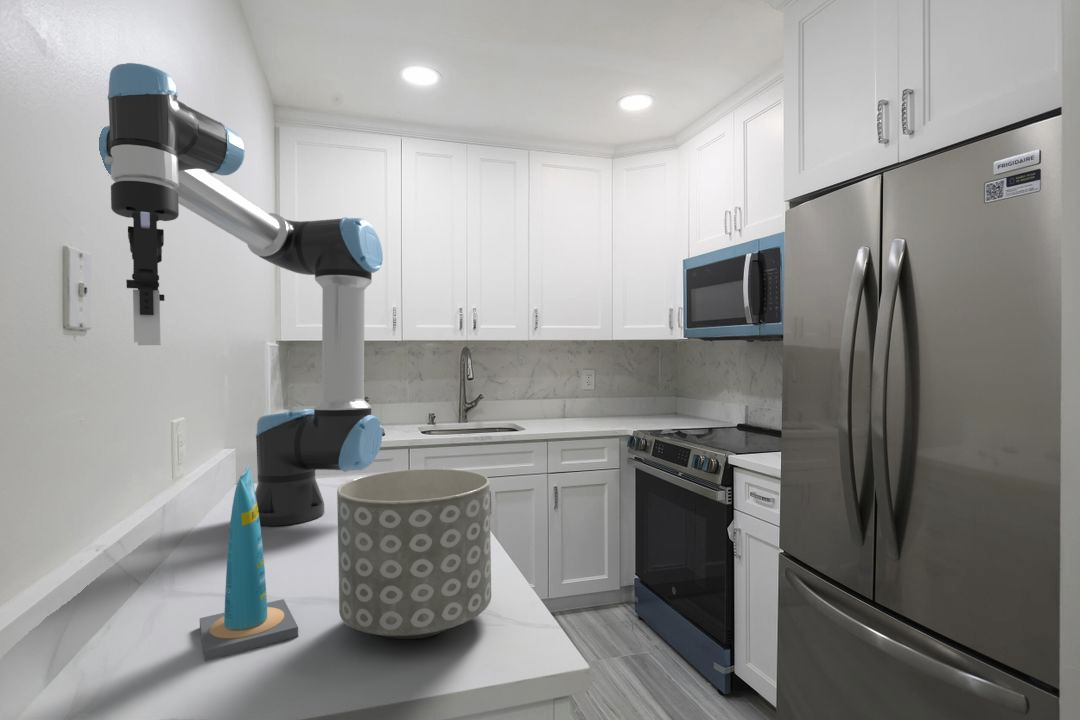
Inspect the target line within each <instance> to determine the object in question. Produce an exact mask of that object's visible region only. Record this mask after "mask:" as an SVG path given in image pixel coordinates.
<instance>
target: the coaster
mask: <svg viewBox="0 0 1080 720" xmlns="http://www.w3.org/2000/svg"><path fill="white" fill-rule="evenodd" d="M224 613H225V612H221V613H217V614H211V615H207V616H203V617H200V618H199V630H200V639H201V645H202V651H203V659H204V662H206V661H210V660H213V659H214V658H215V659H218V658H221V657H226V656H230V655H233V654H236V653H237V654H238V653H240V652H244V651H248V650H252V649H256V648H260V647H263V646H267V645H270V644H275V643H278V642H282V641H286V640H290V639H293V638H297V637H299V626H298V624H297V622H296V620H295V618H294V616H293V614H292V613H291V611H290V608H289V607H288V604H287V602H286V600H285V599H284V598H283V599H278V600H274V601H273V600H272V601H270V602H267V614H268V615H267V619H266V620H265V621H264V622H262V623H261V624H259V625H257V626H254V627H251V628H247V629H242V630H235V629H227V628H226V627H225V626H224Z"/></svg>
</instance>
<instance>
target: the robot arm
mask: <svg viewBox="0 0 1080 720" xmlns="http://www.w3.org/2000/svg"><path fill="white" fill-rule="evenodd" d="M178 96H179V93H178V91H177V84H176V82H175V81H174V79H173V78H172V77H171V75H170V74H168V73H167V72H164V71H163V70H161V69H159V68H157V67H153V66H150V65H147V64H143V63H133V62H126V63H119V64H117V65H115V66H113V67H112V68H111V70H110V73H109V79H108V95H107V100H108V115H109V117H108V118H109V122H108V123H109V125H107V126H106V125H105V126H103V127H104V128H103V129H102V131H101V134H100V137H99V151H100V155H101V157H102V160H103V163H104V166H105V168H106V170H107V171H108V173H109V174H110V175H111V176H110V177H111V179H112V181H114V182H113V183H112V184H111V185H110V200H111V201H110V208H111V210H112V212H113V213H115V214H116V215H118V216H122V217H125V218H127V219H128V218H129V219H130V218H132V221H133V226H132V225H131V226H127V239H128V242H129V243H128V244H129V251H130V253H131V257H132V258H131V259H132V260H133V263H132V264H133V271H132V272H133V273H132V274H131V279H126V283H125V284H126V289H132V302H133V303H132V305H133V306H132V307H133V343H137V346H161V308H160V307H161V303H160V302H163V301H164V302H165V294H160V290H159V288H160V282H159V280H160V276H159V274H158V272H159V269H158V267H159V266H158V265H159V263H161V262H162V259H163V258H162V256H163V255H162V254H163V247H164V244H165V243H164V242H165V240H164V238H165V235H164V234H165V233H164V231H165V230H164V229H162V228H161V229H160V228H158V222H160V221H162V222H169V221H173V220H174V221H175V220H176V219H178V218H179V214H180V213H179V212H180V211H179V209H180V208H179V206H180V205H181V206H182V207H183V208H185V209H187V210H189V211H191V212H192V213H194V214H195V215H198V216H199V217H200V218H203V219H204V220H205V221H208V222H209V223H211V224H213V225H214V226H216V227H218V229H221V230H223V231H225V232H226V233H228V234H230V235H231V236H233V237H235V238H236V239H239V240H240V241H242V242H243V243H245V244H246V246H247V247H248V249H249V251H250V252H251V253H253V254H254V255H255V256H257V257H259V258H261V259H263V260H264V261H266V262H269V263H270V264H273V265H275V266H277V267H280V268H282V269H285V270H287V271H290V272H293V273H297V274H300V275H307V276H314V280H315V282H316V283H317V284H318V285H319V287H321V289H322V308H321V309H322V313H321V315H322V318H321V319H322V321H321V322H322V324H321V325H322V327H321V328H322V329H321V331H322V332H321V333H322V337H321V339H322V342H321V345H322V347H321V348H322V349H321V353H322V354H321V355H322V356H321V357H322V358H321V370H322V371H321V400H320V401H319V402H318V404H316V405H315V406H314V409H313V408H307V409H300V410H299V409H298V410H292V411H291V410H290V411H287V412H286V411H285V412H284V411H283V412H278V413H272V414H265V415H262V416H260V417H259V418H258V420H257V422H256V434H255V438H256V466H257V468H256V470H257V471H256V472H257V483H256V484H257V485H256V489H255V495H256V500H257V506H258V512H259V520H260V526H267V527H270V526H271V527H272V526H275V527H276V526H286V525H295V524H300V523H301V524H302V523H305V522H309V521H313V520H315V519H318V518H319V517H321V516H323V515H324V514H325V501H324V498H323V495H322V492H321V490H320V488H319V487H320V486H319V485H318V482H317V479H316V471H342V472H344V473H345V472H351V471H362V470H365V469H367V468H369V467H370V466H371V465H372V464H373V463H374V461H375V460H376V458H377V456H378V454H379V452H380V449H381V445H382V440H383V426H382V425H381V421H380V419H379V418H378V417H377V416H375V415H372V406H371V405H370V404H369V403H368V402H367V401H366V399H365V291H366V289H367V287H368V286H370V285H371V284H372V283H373V282H372V274H373V273H376V272H378V271H380V269H381V267H382V264H383V259H384V258H383V257H384V256H383V247H382V244H381V240H380V238H379V236H378V235H379V234H378V233H377V231H376V230H375V228H374V227H373V225H372V224H371V223H370V222H368V221H367V220H365V219H364V218H361V217H360V218H359V217H351V218H350V217H349V218H348V217H346V216H345V217H342V218H333V219H331V218H330V219H320V220H319V219H318V220H305V221H300V220H299V221H298V220H297V221H296V220H289V219H285V218H284V217H283V216H281V215H280V214H277V213H273V212H269V213H268V212H267V211H265V210H264V209H263V208H261V207H259V206H258V205H257V204H255V203H254V202H253V201H251V200H249V199H248V198H247V197H245V196H244V195H242V194H241V193H239V191H236V190H235V189H234V188H233V187H230V186H229V185H227V183H225V182H224V181H222V180H221V179H219V178H217V177H216V176H214V175H213V174H215V175H219V176H229V175H232V174H234V173H235V172H237V171H238V170H239V169H240V168H241V166H242V165H243V162H244V160H245V143H244V142H243V140H242V138H241V137H240V135H239V134H238V133H237V132H236V131H234V130H233V129H231V128H229V127H227V126H226V125H225V124H223V122H221V121H218V120H215V119H213V118H212V117H210V116H208V115H205V114H204V113H201V112H200V111H197V110H196V109H194V108H192V107H189V106H187V104H185V103H183V102H181V101H180V100H178V98H177V97H178Z"/></svg>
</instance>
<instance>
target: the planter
mask: <svg viewBox="0 0 1080 720" xmlns="http://www.w3.org/2000/svg"><path fill="white" fill-rule="evenodd" d="M490 487H491V486H490V479H489V478H488V477H487V476H486V475H484V474H481V473H479V472H474V471H469V470H463V469H462V470H461V469H449V468H421V469H418V468H417V469H401V470H395V471H387V472H386V471H385V472H379V473H373V474H369V475H365V476H360V477H357V478H354V479H350V480H348V481H346V482H344V483H342V484H341V485H339V487H338V488H337V490H336V491H337V492H336V495H337V496H336V499H337V501H336V502H337V503H336V504H337V506H336V507H337V552H338V553H337V555H338V556H337V560H338V565H337V566H338V606H339V607H338V609H339V610H338V612H339V616H340V619H341V621H343V622H344V623H345V625H347V626H348V627H350V628H352V629H354V630H356V631H360V632H361V633H366V634H371V635H375V636H376V635H377V636H383V637H386V638H391V639H397V640H419V639H424V638H429V637H433V636H435V635H436V636H437V635H439V634H441V633H444V632H446V631H449V630H450V629H453V628H454V627H458V626H460V625H462V624H464V623H467V622H468V621H471V620H472V619H474V618H476V617H478V616H479V615H480V614H481V613H483V612H484V611H485V610H486V609H487V608H488V606H489V605H490V603H491V599H492V556H491V555H492V552H491V549H492V548H491V547H492V546H491V541H492V540H491V496H490V495H491V492H490V491H491V489H490Z"/></svg>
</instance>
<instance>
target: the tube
mask: <svg viewBox="0 0 1080 720" xmlns="http://www.w3.org/2000/svg"><path fill="white" fill-rule="evenodd" d="M250 466H251V465H250V464H248V465H247V466H246V469H245V471H244V473H243V474H241V476H240V477H239V479H238V481H237V483H236V487H235V491H234V496H233V501H232V507H231V515H230V523H229V524H230V525H229V531H228V541H227V542H228V543H227V544H228V546H227V556H226V557H227V558H226V560H227V561H226V575H225V588H224V589H225V591H224V592H225V594H224V598H225V599H224V612H223V613H224V626H225V627H226V628H227V629H235V630H242V629H247V628H251V627H254V626H257V625H259V624H261V623H262V622H264V621H265V620H266V619H267V615H268V614H267V603H268V599H267V598H268V597H267V584H266V582H267V580H266V571H265V556H264V546H263V538H262V530H261V529H262V528H261V525H260V520H259V512H258V506H257V500H256V495H255V491H256V489H255V486H254V485H255V484H254V481H253V476H252V472H251V467H250Z"/></svg>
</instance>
